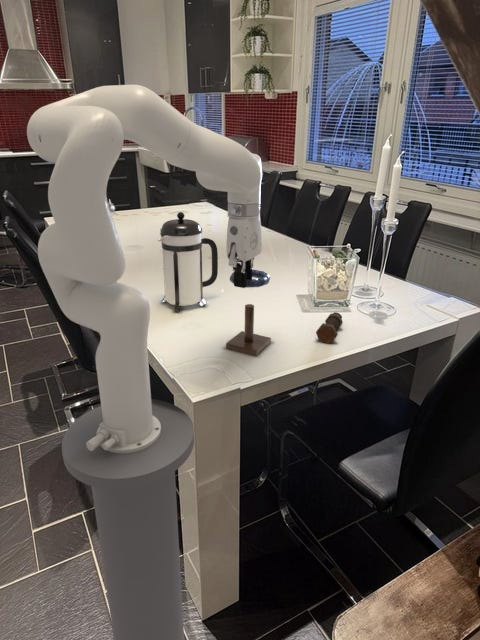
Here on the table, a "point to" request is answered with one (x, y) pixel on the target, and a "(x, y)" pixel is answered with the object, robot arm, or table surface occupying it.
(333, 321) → the bolt
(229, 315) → the table surface
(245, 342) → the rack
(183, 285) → the coffee press
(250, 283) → the ring
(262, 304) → the table surface
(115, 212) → the flower vase
